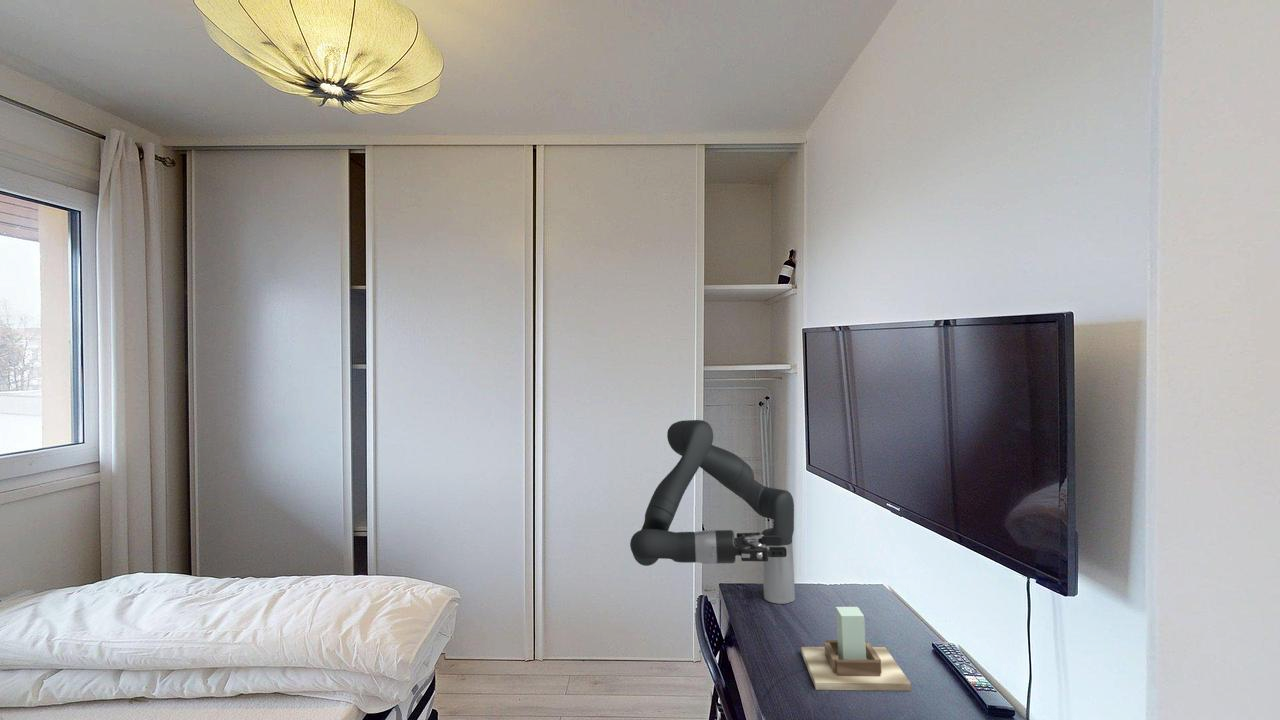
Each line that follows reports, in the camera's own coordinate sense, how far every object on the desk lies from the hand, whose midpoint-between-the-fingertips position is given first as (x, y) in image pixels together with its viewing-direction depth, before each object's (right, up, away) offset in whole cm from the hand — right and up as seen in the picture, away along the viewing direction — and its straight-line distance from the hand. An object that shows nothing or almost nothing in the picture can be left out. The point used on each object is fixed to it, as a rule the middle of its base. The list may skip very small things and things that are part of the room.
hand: (783, 545), depth 133 cm
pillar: (+15, -26, -4) cm, 30 cm away
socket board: (+15, -27, -4) cm, 31 cm away
